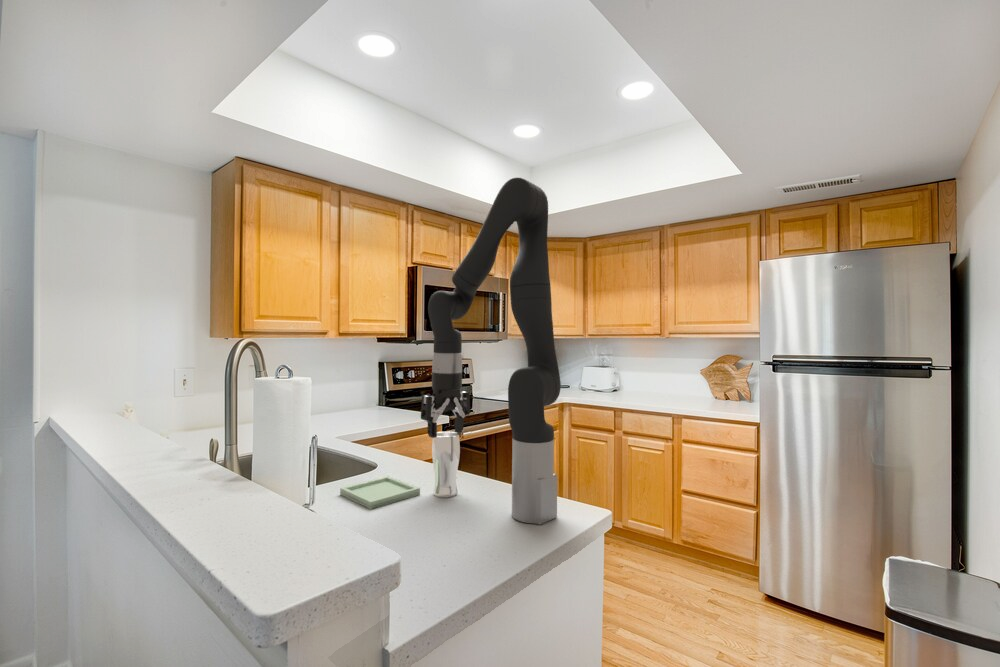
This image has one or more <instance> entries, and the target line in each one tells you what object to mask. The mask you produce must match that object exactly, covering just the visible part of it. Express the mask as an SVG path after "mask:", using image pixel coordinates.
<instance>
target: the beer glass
mask: <svg viewBox="0 0 1000 667" xmlns="http://www.w3.org/2000/svg"><path fill="white" fill-rule="evenodd" d="M460 443H461V442H460V433H457V432H455V431H440V432H438V431H437V436H436V437H435V438H432V444H431V445H432V446H431V447H432V448H431V455H432V456H431V458H432V464H433V471H434V488H433V496H435V497H438V498H444V497H446V498H452V497H455V496H457V495H458V493H459V491H458V486H457V474H458V469H459V463H460V457H461V456H460V455H461V445H460Z"/></svg>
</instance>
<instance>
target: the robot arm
mask: <svg viewBox="0 0 1000 667" xmlns="http://www.w3.org/2000/svg"><path fill="white" fill-rule="evenodd" d="M515 222H516V224H517V231H518V232H517V234H518V251H517V256H516V259H515V262H514V265H513V267H512V270H511V274H510V278H509V293H510V307H511V312H512V314H513V318H514V320H515V322H516V324H517V326H518V327H517V328H518V329H519V331H520V333H521V335H522V336H523V339H524V343H525V346H526V353H527V366H525V367H520V368H518V369H516V370H515V371H514V372H513V373H512V374H511V376H510V379H509V381H508V385H507V387H508V388H507V401H508V402H507V403H508V404H507V405H508V422H509V426H510V429H511V432H512V440H511V441H512V444H511V445H512V446H511V447H512V451H511V452H512V453H511V454H512V455H511V456H512V457H511V458H512V459H511V464H512V465H511V516H512V518H513V519H515V520H516V521H518V522H522V523H527V524H536V525H540V526H541V525H543V524H545V523H548V522H549V521H551V520H554V519H556V518H557V517H558V473H557V474H556V473H554V472H555V470H554V469H555V468H554V465H555V464H554V461H555V460H554V454H555V452H554V451H555V449H554V448H555V429H554V426H553V425H552V424H550V423H548V422H547V421H546V419H545V418H546V417H545V407H547V406H551V405H553V404H554V403H555V402H556V401H557V400H558V398H559V397H560V393H561V376H560V370H559V365H558V359H557V358H558V357H557V354H556V347H555V346H556V345H555V337H554V336H555V334H554V323H553V309H552V308H553V307H552V291H551V290H552V287H551V280H550V279H551V278H550V264H549V249H548V230H549V229H548V227H549V226H548V225H549V200H548V196H547V194H546V192H545V190H543V189H542V187H540V186H538V185H536V184H535V183H532V182H531V181H529V180H527V179H525V178H522V177H513V178H510V179H508V180H507V181H506V182H505V183H504V184H503V185H502V186H501V188H500V189H499V191H498V193H497V195H496V197H495V199H494V200H493V203H492V205H491V207H490V210H489V211H488V214H487V215H486V217H485V220H484V221H483V224H482V226H481V227H480V230H479V233H478V234H477V236H476V238H475V240H474V242H473V243H472V245H471V247H470V249H469V250H468V252H467V253H466V255H465V256H464V258H463V259H462V260H461V262H460V263H459V265H458V266H457V268H456V269H455V271H454V272H453V274H452V277H451V280H452V283H453V284H452V285H454V286H455V288H454V289H453V291H446V290H437V291H435V292H433V293H432V294H431V296H430V297H429V300H428V305H427V312H428V317H429V322H430V326H431V330H432V333H433V334H432V335H433V352H432V353H433V355H432V365H431V366H432V367H431V369H432V370H431V389H432V395H425V394H423V395H422V396H421V407H420V420H423V421H426V422H427V435H428V437H429V438H431V439H433V438H435V437H436V436H437V432H438V431H437V430H438V429H437V427H438V426H437V421H438V418H439V417H440V416H441V415H442V414H443V413H445V412H448V411H451V412H452V413H453V414H454V415H455V418H454V432H456V433H459V434H460V433H463V430H464V418H466V416H467V415H470V414H471V397H470V396H471V394H470V392H468V391H463V390H462V388H463V356H462V350H463V349H462V346H463V345H462V341H463V340H462V339H463V338H462V333H461V331H460V330H458V329H456V328H454V326H453V320H454V321H456V320H460V319H462V318H464V317H465V316H466V315H467V313H468V312H469V310H470V309H471V306H472V304H473V302H474V299H475V296H476V294H477V290H479V288H480V287H481V285H482V284H483V282H484V281H485V280H486V279H487V277H488V276H489V275H490V272H492V271H491V270H492V269H493V268H494V265H495V262H496V258H497V253H498V249H499V246H500V244H501V241H502V238H503V237H504V236H505V234H506V232H507V231H508V230H509V229H510V227H512V225H513V224H515ZM461 390H462V391H461Z"/></svg>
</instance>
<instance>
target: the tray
mask: <svg viewBox="0 0 1000 667" xmlns="http://www.w3.org/2000/svg"><path fill="white" fill-rule="evenodd" d="M339 489H340V490H339V493H340V496H342V497H344V498H347V499H349V500H351V501H353V502H355V503H356V504H360V505H362V506H364V507H365V508H367V509H369V510H373V509H375V508H380V507H383V506H386V505H390V504H393V503H396V502H399V501H402V500H406V499H410V498H412V497H416V496H419V495H421V488H420V487H419V486H415V485H413V484H410V483H408V482H405V481H402V480H401V479H397V478H394V477H392V476H389V475H388V476H384V477H383V476H382V477H380V478H376V479H372V480H368V481H364V482H360V483H355V484H352V485H347V486H343V487H340V488H339Z"/></svg>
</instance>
